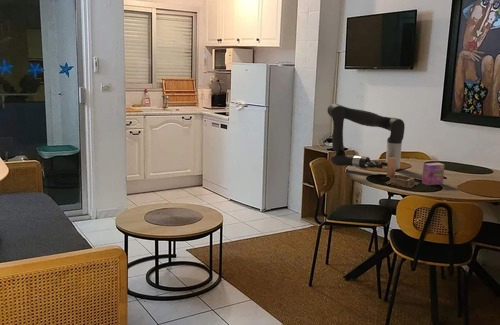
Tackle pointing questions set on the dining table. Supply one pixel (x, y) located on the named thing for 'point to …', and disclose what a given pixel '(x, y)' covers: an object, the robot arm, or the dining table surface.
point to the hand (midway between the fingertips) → (385, 165)
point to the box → (433, 173)
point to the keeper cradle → (403, 181)
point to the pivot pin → (391, 167)
